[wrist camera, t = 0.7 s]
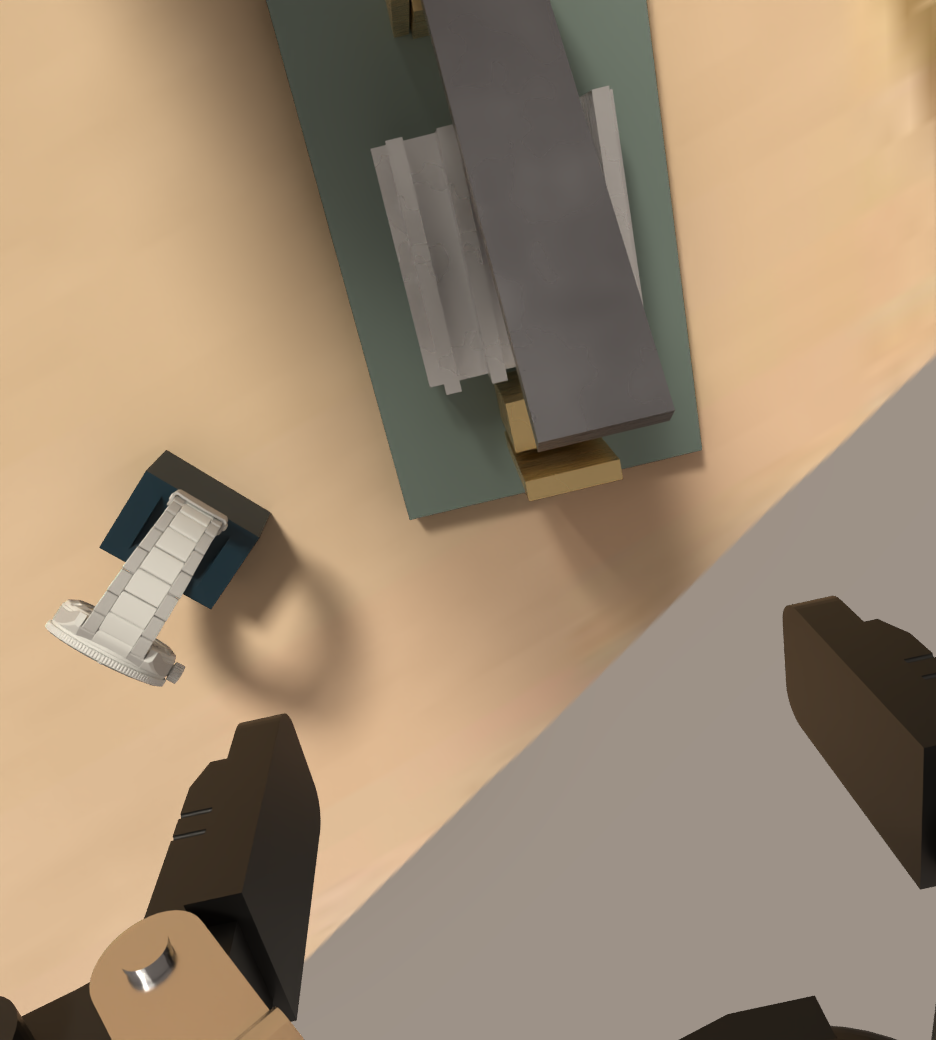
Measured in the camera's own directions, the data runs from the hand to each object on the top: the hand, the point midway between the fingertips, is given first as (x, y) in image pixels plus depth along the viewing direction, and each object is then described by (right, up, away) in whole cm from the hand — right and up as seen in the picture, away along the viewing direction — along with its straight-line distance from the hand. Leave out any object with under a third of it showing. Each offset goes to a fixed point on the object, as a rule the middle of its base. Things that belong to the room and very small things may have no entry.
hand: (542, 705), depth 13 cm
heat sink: (0, +15, +21) cm, 25 cm away
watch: (-14, +3, +26) cm, 30 cm away
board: (0, +15, +22) cm, 27 cm away
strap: (+1, +13, +11) cm, 17 cm away
